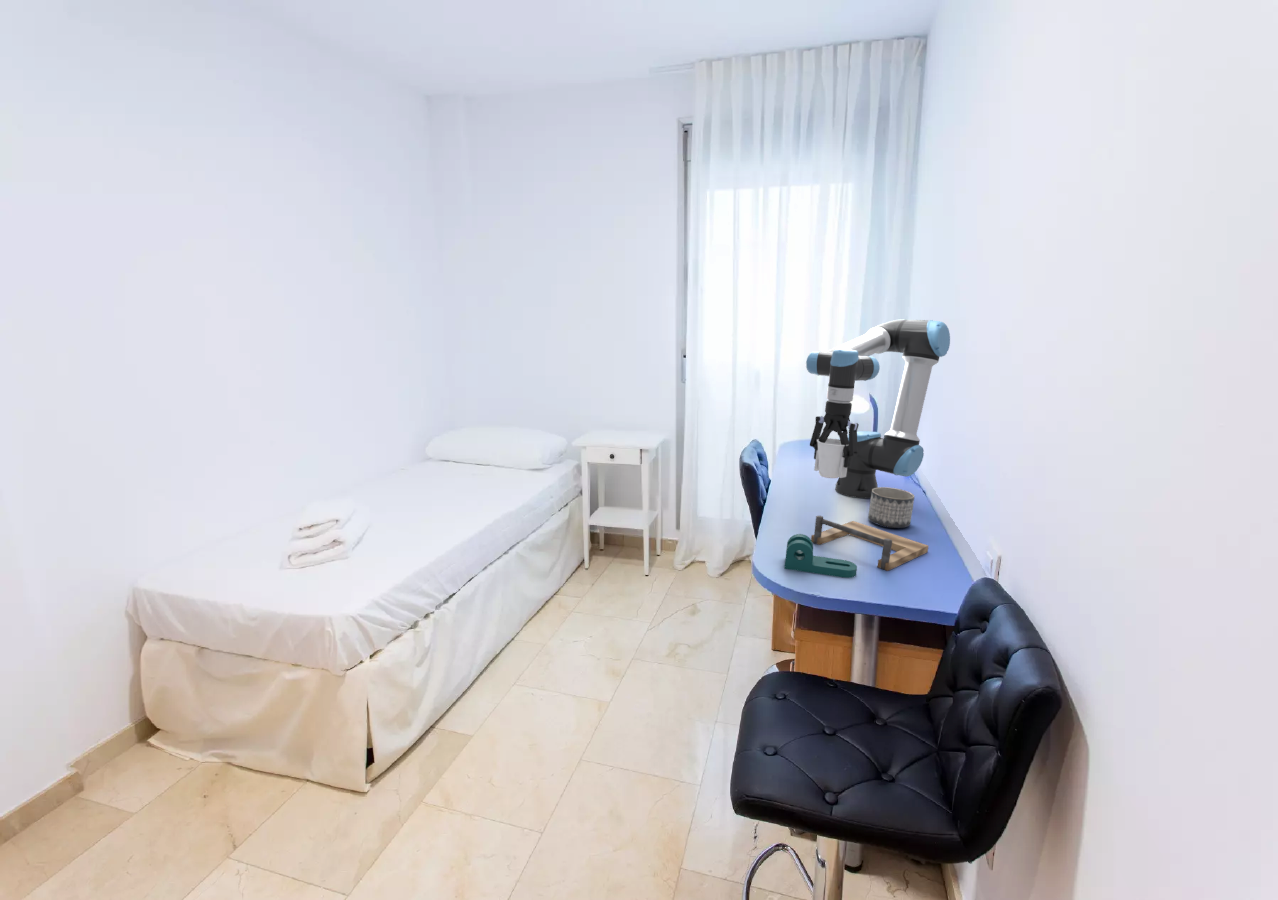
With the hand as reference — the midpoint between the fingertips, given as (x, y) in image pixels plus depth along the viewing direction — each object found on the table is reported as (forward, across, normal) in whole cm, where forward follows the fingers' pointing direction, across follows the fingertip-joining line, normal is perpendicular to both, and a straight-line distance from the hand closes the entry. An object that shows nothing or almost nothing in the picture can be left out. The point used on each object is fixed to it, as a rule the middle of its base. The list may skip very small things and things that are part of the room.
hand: (829, 473), depth 187 cm
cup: (+1, 0, 0) cm, 1 cm away
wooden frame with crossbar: (+17, +18, -4) cm, 25 cm away
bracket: (+18, +20, -29) cm, 39 cm away
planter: (+17, +11, +20) cm, 28 cm away
